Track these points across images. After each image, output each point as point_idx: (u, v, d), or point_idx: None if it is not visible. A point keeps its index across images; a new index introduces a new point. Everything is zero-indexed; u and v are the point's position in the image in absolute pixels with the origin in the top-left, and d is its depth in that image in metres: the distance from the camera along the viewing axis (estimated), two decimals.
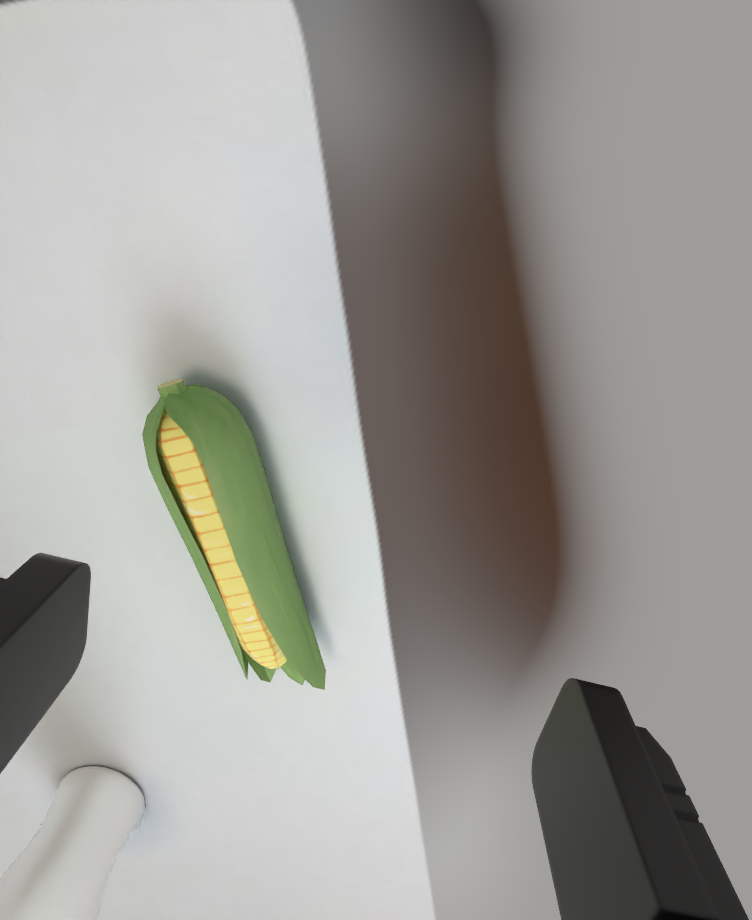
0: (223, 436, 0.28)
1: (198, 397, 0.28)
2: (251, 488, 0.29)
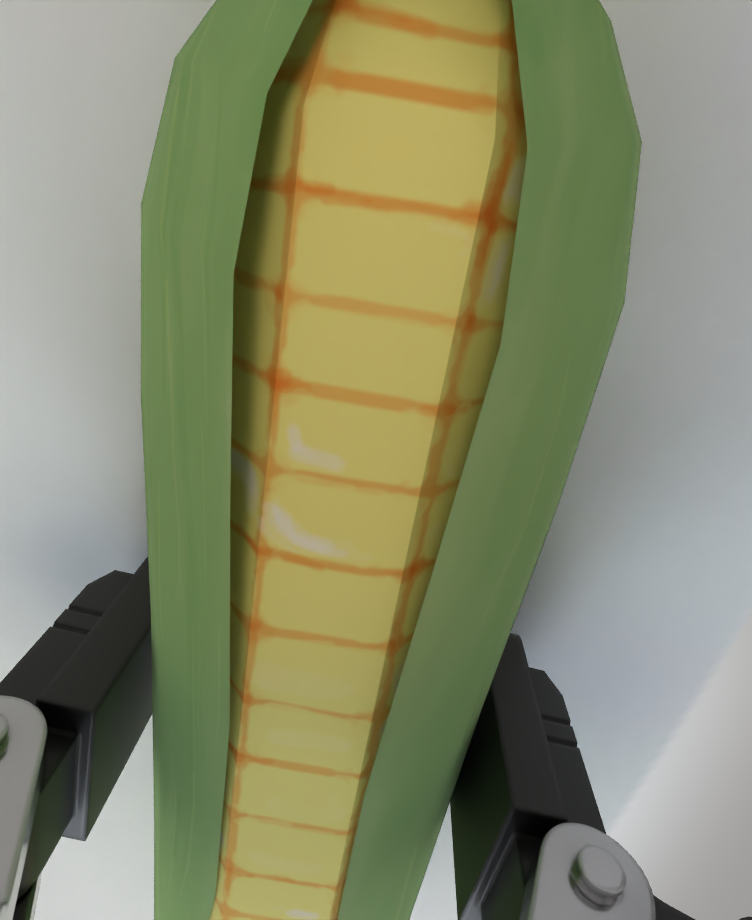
0: (614, 224, 0.05)
1: None
2: (548, 513, 0.07)
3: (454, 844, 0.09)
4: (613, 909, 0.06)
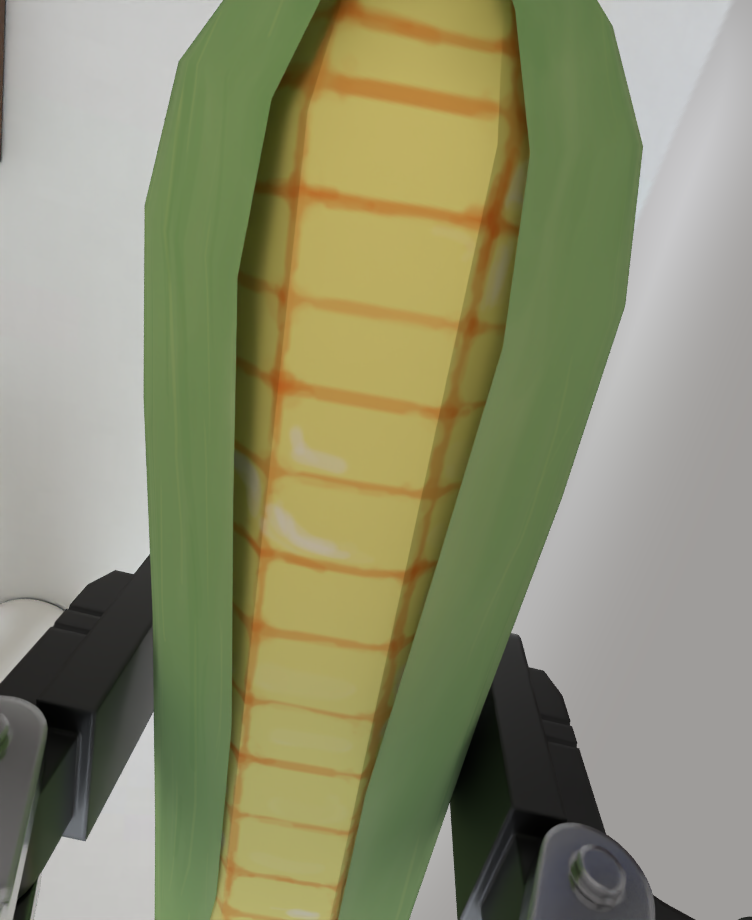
0: (615, 229, 0.05)
1: None
2: (549, 515, 0.07)
3: (454, 844, 0.09)
4: (613, 909, 0.06)
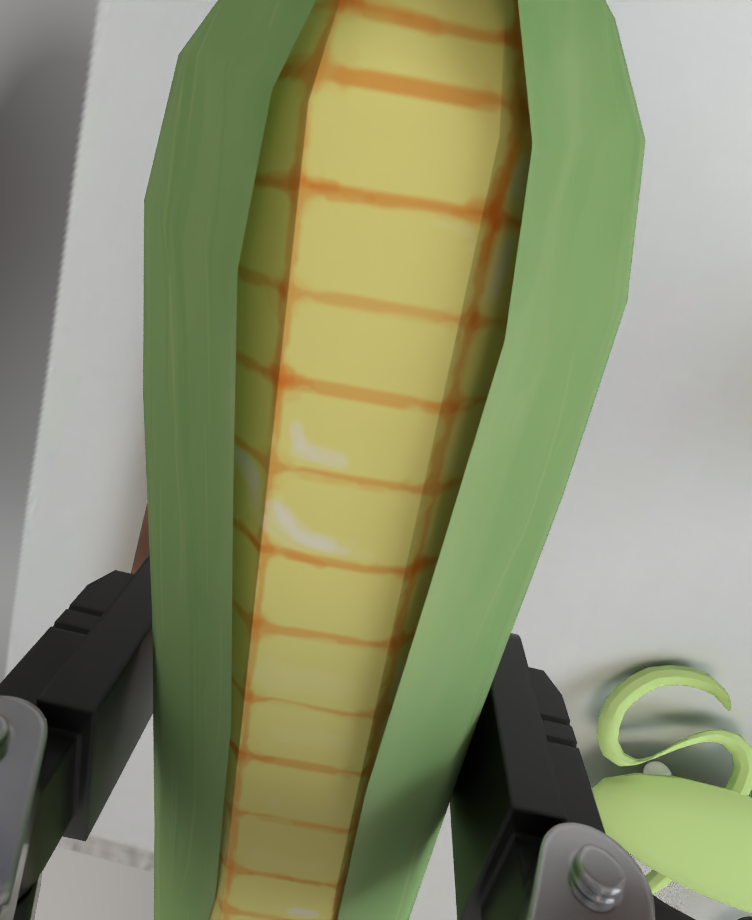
0: (617, 223, 0.05)
1: None
2: (550, 511, 0.07)
3: (454, 844, 0.09)
4: (612, 909, 0.06)
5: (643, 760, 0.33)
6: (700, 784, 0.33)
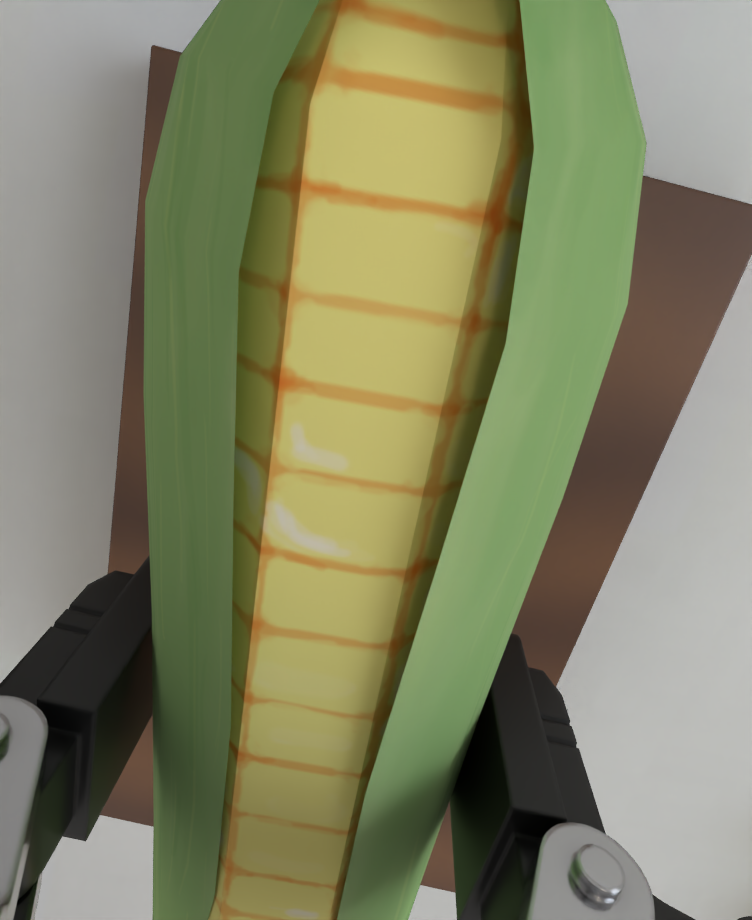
0: (618, 226, 0.05)
1: None
2: (550, 513, 0.07)
3: (454, 844, 0.09)
4: (612, 909, 0.06)
5: None
6: None
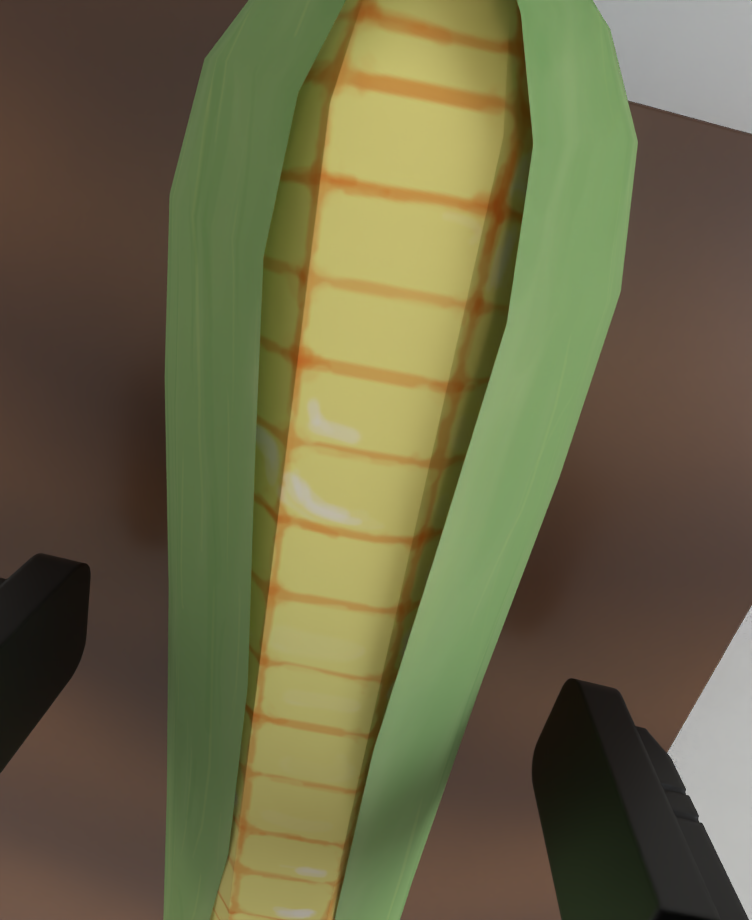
0: (611, 217, 0.06)
1: None
2: (547, 489, 0.07)
3: None
4: None
5: None
6: None
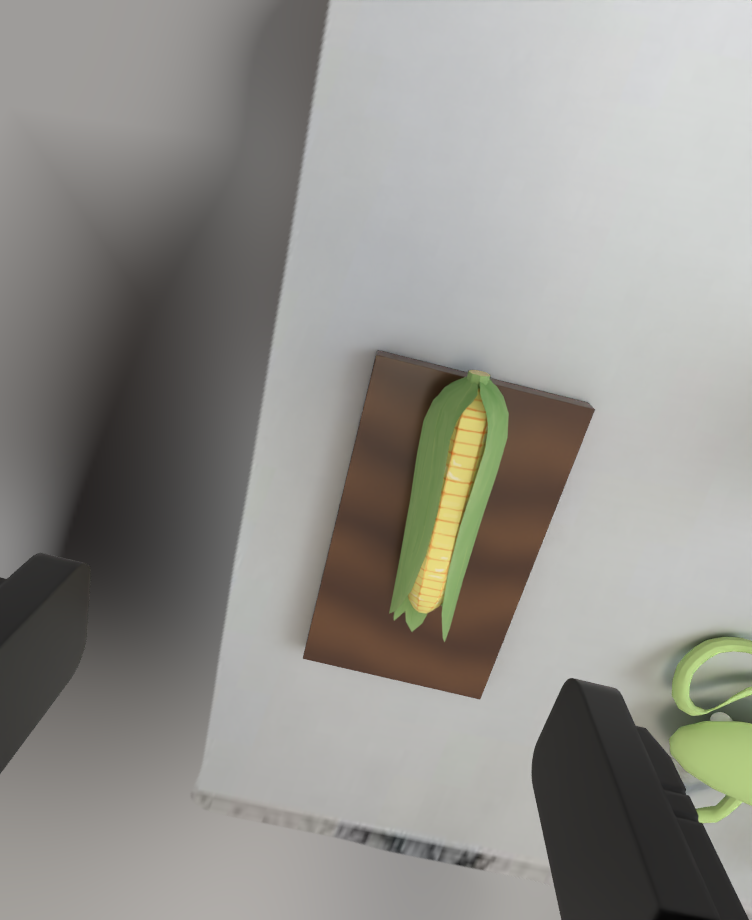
0: (502, 430, 0.35)
1: (495, 393, 0.34)
2: (494, 474, 0.36)
3: None
4: None
5: (710, 710, 0.44)
6: None
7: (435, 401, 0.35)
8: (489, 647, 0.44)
